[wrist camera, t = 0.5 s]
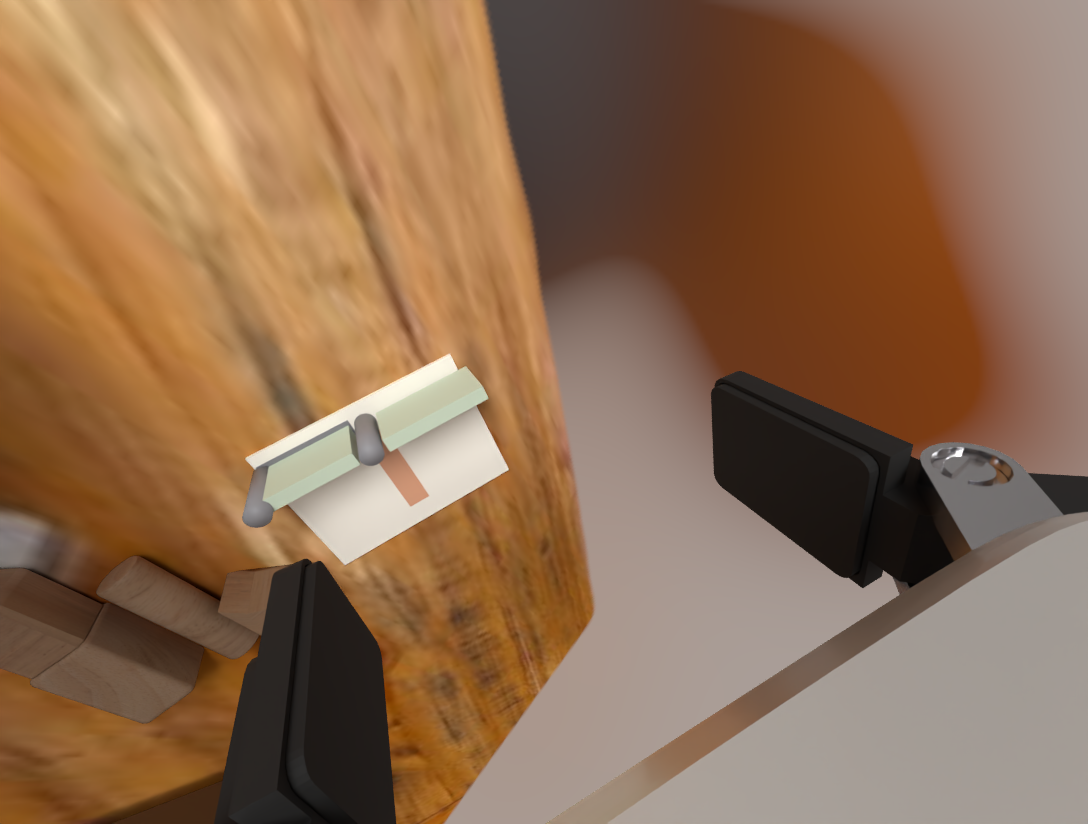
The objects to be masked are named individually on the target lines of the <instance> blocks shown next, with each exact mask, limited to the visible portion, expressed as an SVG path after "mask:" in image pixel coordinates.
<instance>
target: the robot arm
mask: <svg viewBox="0 0 1088 824" xmlns="http://www.w3.org/2000/svg"><path fill="white" fill-rule="evenodd" d="M711 404H712V432H713V458H714V476H715V479H716V480H717V482H718V484H719V485H720V486H721V487H722V488H723V489H725V490H726V491H728V492H729V493H730V494H732V495H733V496H734V497H736V498H737V499H738V500H739V501H741V502H742V503H743V504H745V505H746V506H747V507H749V508H750V509H751V510H753V511H754V512H755V513H757V514H758V515H759V516H760V517H762V518H763V519H764V520H766V521H767V522H768V523H770V524H771V525H772V526H774V527H775V528H776V529H778V530H779V531H780V532H782V533H783V534H784V535H786V536H787V537H788V538H789V539H791V540H792V541H793V542H795V543H796V544H797V545H799V546H800V547H802V548H803V549H804V550H805V551H807V552H808V553H809V554H811V555H812V556H813V557H815V558H816V559H817V560H819V561H820V562H821V563H822V564H824V565H825V566H826V567H828V568H829V569H830V570H832V571H833V572H834V573H836V574H837V575H839V576H841V577H844V578H850V579H851V580H852V581H854V582H855V583H856V584H858V585H859V586H860V587H862V588H864V587H865V586H867V585H869V584H870V583H872V582H873V581H875V580H877V579H878V578H880V577H881V576H882V572H883V570H884V571H885V572H887V573H888V574H890V575H891V576H892V577H893V579H894V581H895V584H896V587H897V589H898V592H899V594H900V595H899V596H897V597H896V598H894V599H893V600H891V601H889V602H888V603H886V604H885V605H883V606H882V607H880V608H878V609H877V610H876V611H874V612H872V613H871V614H869V615H867V616H866V617H864V618H863V619H861V620H860V621H858V622H856V623H855V624H854V625H852V626H850V627H849V628H847V629H846V630H844V631H842V632H841V633H839V634H838V635H836V636H834V637H833V638H831V639H830V640H828V641H827V642H825V643H824V644H822V645H820V646H819V647H817V648H816V649H814V650H813V651H811V652H810V653H808V654H807V655H805V656H803V657H802V658H800V659H799V660H797V661H796V662H794V663H792V664H791V665H789V666H788V667H786V668H785V669H783V670H781V671H780V672H778V673H777V674H775V675H774V676H772V677H771V678H769V679H768V680H766V681H765V682H763V683H761V684H760V685H758V686H757V687H755V688H754V689H752V690H751V691H749V692H747V693H746V694H744V695H743V696H741V697H740V698H738V699H737V700H735V701H733V702H732V703H730V704H729V705H727V706H726V707H724V708H723V709H721V710H719V711H718V712H716V713H715V714H713V715H712V716H710V717H709V718H707V719H706V720H704V721H702V722H701V723H700V724H698V725H696V726H695V727H693V728H692V729H690V730H689V731H687V732H685V733H684V734H682V735H681V736H679V737H678V738H676V739H675V740H673V741H671V742H670V743H669V744H667V745H665V746H664V747H663V748H661V749H659V750H658V751H656V752H655V753H653V754H652V755H650V756H649V757H647V758H645V759H644V760H642V761H641V762H639V763H638V764H636V765H635V766H633V767H632V768H630V769H629V770H627V771H626V772H624V773H622V774H621V775H619V776H618V777H616V778H615V779H613V780H612V781H610V782H609V783H607V784H606V785H604V786H603V787H601V788H600V789H598V790H596V791H595V792H593V793H592V794H590V795H589V796H587V797H586V798H584V799H583V800H581V801H580V802H578V803H576V804H575V805H573V806H572V807H570V808H569V809H567V810H566V811H564V812H563V813H561V814H560V815H558V816H557V817H555V818H554V819H552V820H550V821H549V822H548V823H546V824H1088V477H1085V476H1068V475H1050V474H1033V473H1027V472H1026V471H1025V470H1024V468H1023V467H1022V466H1021V465H1020V464H1018V463H1017V462H1016V461H1015V460H1014V459H1012V458H1010V457H1009V456H1007V455H1005V454H1003V453H1001V452H999V451H996V450H993V449H990V448H987V447H984V446H978V445H974V444H967V443H954V442H953V443H941V444H937V445H933V446H930V447H928V448H927V449H925V450H924V451H923V452H922V454H921V457H920V459H919V460H918V459H916V458H913V457H911V451H912V447H913V444H910V443H908V442H906V441H903V440H901V439H899V438H896V437H894V436H892V435H889V434H887V433H885V432H882V431H880V430H878V429H875V428H873V427H871V426H869V425H866V424H864V423H862V422H859V421H857V420H854V419H852V418H850V417H847V416H845V415H843V414H841V413H838V412H836V411H833V410H831V409H829V408H827V407H824V406H822V405H820V404H817V403H815V402H813V401H810V400H808V399H806V398H803V397H801V396H799V395H796V394H794V393H792V392H789V391H787V390H785V389H782V388H780V387H778V386H775V385H773V384H771V383H768V382H766V381H764V380H761V379H759V378H757V377H754V376H752V375H750V374H747V373H745V372H742V371H737V372H735V373H732V374H730V375H728V376H725V377H723V378H721V379H719V380H717V381H716V383H715V388H713V389H712V392H711ZM214 824H396V816H395V805H394V793H393V782H392V770H391V759H390V747H389V736H388V724H387V713H386V701H385V690H384V678H383V667H382V657H381V652H380V649H379V646H378V643H377V641H376V640H375V638H374V637H373V635H372V634H371V632H370V631H369V629H368V628H367V626H366V625H365V624H364V622H363V621H362V619H361V618H360V616H359V615H358V613H357V612H356V610H355V609H354V607H353V606H352V605H351V603H350V602H349V600H348V599H347V597H346V596H345V594H344V593H343V591H342V590H341V588H340V587H339V586H338V584H337V583H336V581H335V580H334V578H333V577H332V575H331V574H330V572H329V571H328V570H327V568H326V567H325V565H324V564H323V563H322V562H321V561H317V562H315V563H313V564H312V562H311V561H310V560H308V559H303V560H301V561H299V562H296V563H294V564H292V565H289V566H287V567H285V568H283V569H280V570H278V571H276V572H275V573H274V574H273V577H272V581H271V587H270V592H269V597H268V603H267V608H266V614H265V619H264V625H263V630H262V635H261V641H260V646H259V652H258V657H256V658H254V659H252V660H251V661H250V663H249V664H248V665H247V668H246V671H245V674H244V679H243V684H242V688H241V693H240V698H239V703H238V708H237V713H236V718H235V723H234V727H233V732H232V737H231V742H230V747H229V752H228V757H227V762H226V766H225V771H224V776H223V781H222V786H221V791H220V796H219V801H218V805H217V810H216V815H215V820H214Z"/></svg>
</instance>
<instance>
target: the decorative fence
mask: <svg viewBox="0 0 1088 824" xmlns="http://www.w3.org/2000/svg"><path fill="white" fill-rule="evenodd" d="M221 786H222V781H221V782H218V783H215V784H213V785H210V786H208V787H205V788H203V789H200V790H197V791H195V792H192V793H190V794H187V795H184V796H182V797H179V798H177V799H174V800H172V801H169V802H166V803H164V804H161V805H159V806H156V807H153V808H151V809H148V810H146V811H143V812H141V813H138V814H135V815H133V816H130V817H128V818H125V819H122V820H120V821H117V822H115V823H112V824H214V820H215V815H216V810H217V805H218V801H219V796H220V791H221Z"/></svg>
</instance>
